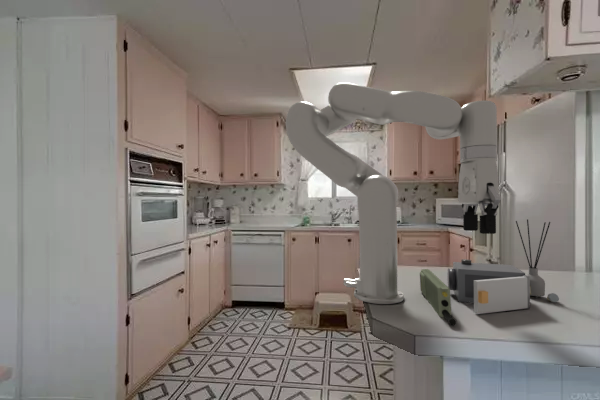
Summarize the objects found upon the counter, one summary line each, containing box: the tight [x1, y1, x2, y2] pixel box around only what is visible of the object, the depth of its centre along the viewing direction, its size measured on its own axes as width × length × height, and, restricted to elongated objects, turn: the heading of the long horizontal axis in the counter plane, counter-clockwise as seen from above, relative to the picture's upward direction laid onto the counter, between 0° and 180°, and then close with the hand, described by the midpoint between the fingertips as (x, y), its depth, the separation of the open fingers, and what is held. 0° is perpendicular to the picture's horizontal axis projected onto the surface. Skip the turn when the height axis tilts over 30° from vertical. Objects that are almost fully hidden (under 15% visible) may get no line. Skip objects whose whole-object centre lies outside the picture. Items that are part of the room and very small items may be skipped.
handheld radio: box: [419, 268, 457, 326], centre depth 73 cm, size 7×3×25 cm
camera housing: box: [446, 258, 526, 304], centre depth 79 cm, size 16×10×9 cm, turn 70°
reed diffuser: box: [515, 219, 560, 303], centre depth 80 cm, size 10×7×20 cm
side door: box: [473, 274, 531, 315], centre depth 69 cm, size 15×2×7 cm, turn 105°
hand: (478, 231), depth 72 cm, fingers open, 7 cm apart
